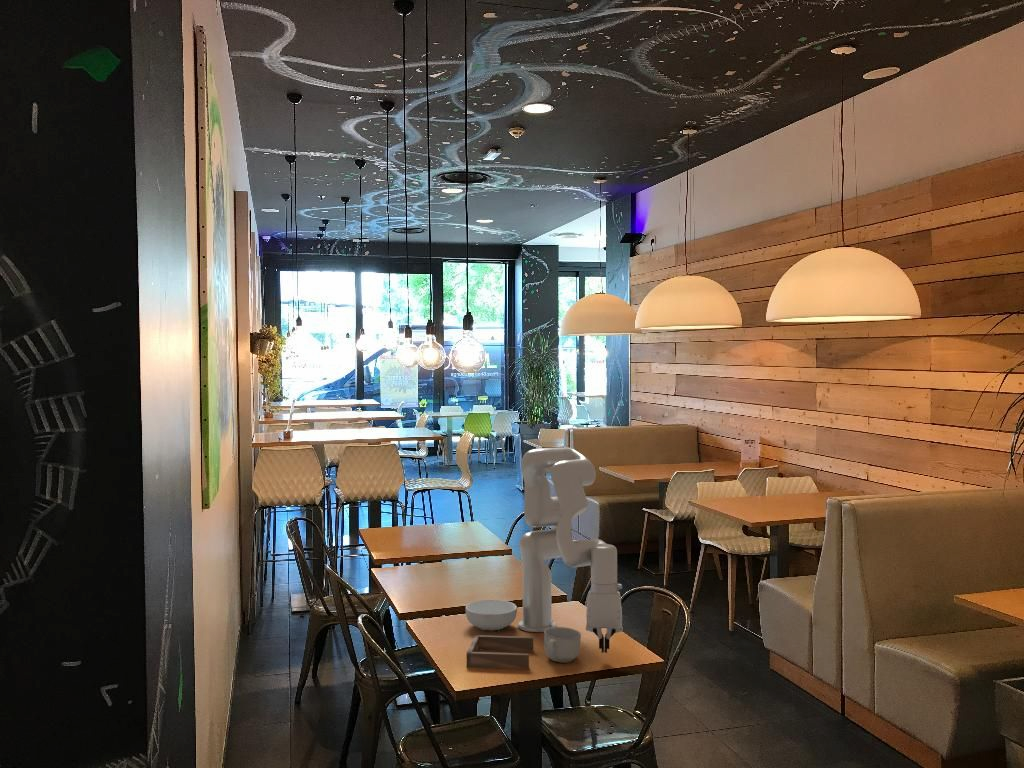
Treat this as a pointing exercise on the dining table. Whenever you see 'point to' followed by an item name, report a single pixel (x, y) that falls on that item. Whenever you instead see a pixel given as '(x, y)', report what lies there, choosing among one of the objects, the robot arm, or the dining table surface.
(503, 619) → the cereal bowl
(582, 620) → the dining table surface
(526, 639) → the walnut bay
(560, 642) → the teacup
